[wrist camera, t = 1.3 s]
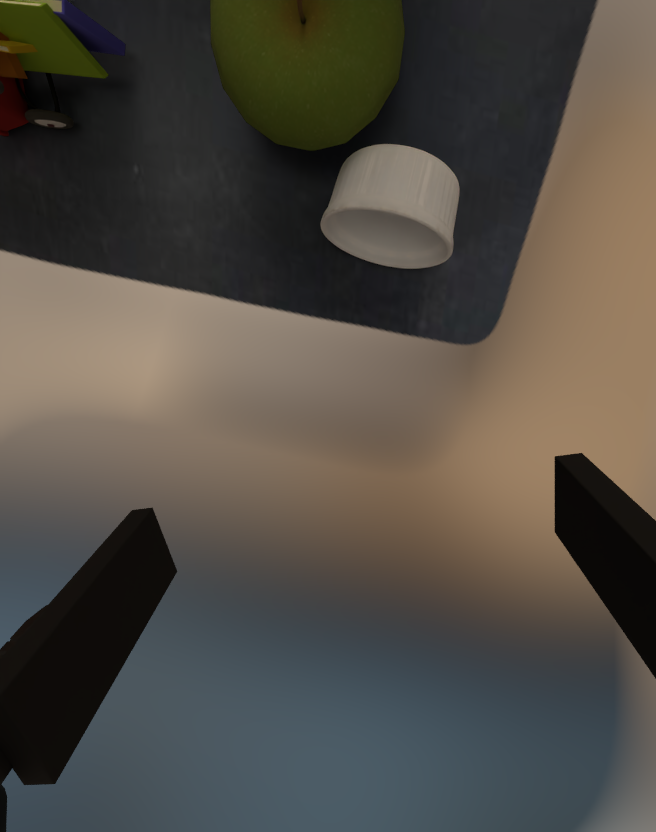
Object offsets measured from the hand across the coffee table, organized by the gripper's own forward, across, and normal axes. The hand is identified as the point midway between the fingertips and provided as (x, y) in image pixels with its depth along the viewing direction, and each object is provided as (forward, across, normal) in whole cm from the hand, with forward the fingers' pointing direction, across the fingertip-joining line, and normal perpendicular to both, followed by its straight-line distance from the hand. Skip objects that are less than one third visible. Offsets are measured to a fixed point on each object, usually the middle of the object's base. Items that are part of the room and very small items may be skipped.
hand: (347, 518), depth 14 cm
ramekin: (+20, +5, +12) cm, 24 cm away
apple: (+24, 0, +19) cm, 31 cm away
